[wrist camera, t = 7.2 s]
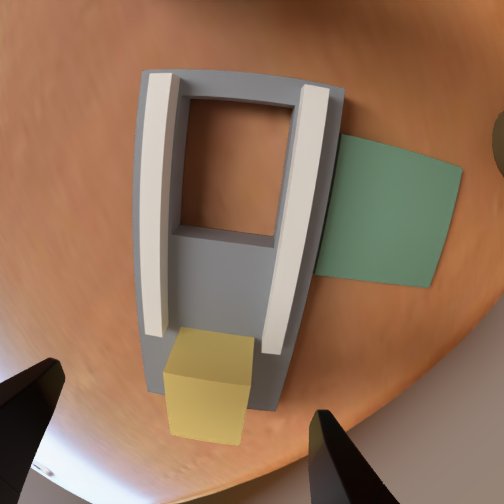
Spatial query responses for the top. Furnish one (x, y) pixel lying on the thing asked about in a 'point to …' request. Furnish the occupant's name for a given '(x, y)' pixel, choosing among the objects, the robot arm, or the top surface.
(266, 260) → the channel deck
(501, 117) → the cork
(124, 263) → the top surface
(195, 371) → the brick
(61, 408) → the top surface
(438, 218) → the felt mat
